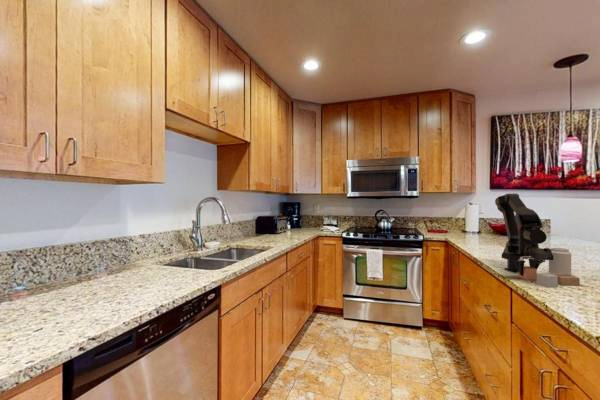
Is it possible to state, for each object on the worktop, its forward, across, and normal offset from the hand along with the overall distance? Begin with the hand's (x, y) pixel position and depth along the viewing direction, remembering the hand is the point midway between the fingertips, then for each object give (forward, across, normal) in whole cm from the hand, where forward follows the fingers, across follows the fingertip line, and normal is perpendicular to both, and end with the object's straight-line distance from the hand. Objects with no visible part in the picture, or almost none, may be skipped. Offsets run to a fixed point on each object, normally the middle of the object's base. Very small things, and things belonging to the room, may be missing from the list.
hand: (527, 275), depth 122 cm
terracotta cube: (+1, 0, 0) cm, 1 cm away
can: (+1, +18, +4) cm, 18 cm away
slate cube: (+1, -1, -11) cm, 11 cm away
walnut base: (+1, +8, -8) cm, 11 cm away
